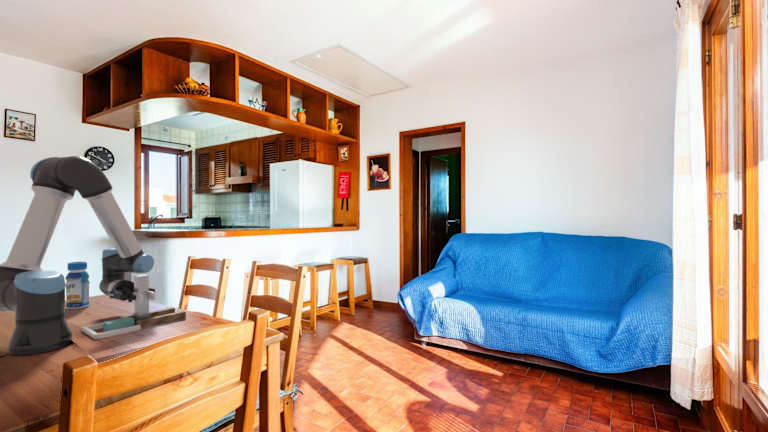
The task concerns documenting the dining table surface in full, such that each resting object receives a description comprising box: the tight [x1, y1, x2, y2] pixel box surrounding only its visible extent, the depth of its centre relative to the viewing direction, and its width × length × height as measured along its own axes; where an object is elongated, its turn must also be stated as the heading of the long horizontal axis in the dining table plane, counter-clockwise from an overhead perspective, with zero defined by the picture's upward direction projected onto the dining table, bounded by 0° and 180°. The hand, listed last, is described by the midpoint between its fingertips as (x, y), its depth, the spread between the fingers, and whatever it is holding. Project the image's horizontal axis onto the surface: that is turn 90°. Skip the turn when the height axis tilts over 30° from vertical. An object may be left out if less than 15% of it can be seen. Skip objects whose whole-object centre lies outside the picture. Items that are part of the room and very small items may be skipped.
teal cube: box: [103, 318, 121, 332], centre depth 130 cm, size 4×4×4 cm
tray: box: [81, 322, 142, 340], centre depth 130 cm, size 13×14×3 cm
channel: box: [126, 306, 187, 329], centre depth 142 cm, size 16×11×4 cm
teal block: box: [116, 316, 134, 329], centre depth 134 cm, size 4×4×4 cm
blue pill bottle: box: [65, 261, 91, 310], centre depth 169 cm, size 8×8×20 cm
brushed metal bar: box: [132, 274, 151, 323], centre depth 138 cm, size 4×6×17 cm, turn 53°
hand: (147, 297), depth 135 cm, fingers closed on brushed metal bar, 3 cm apart
